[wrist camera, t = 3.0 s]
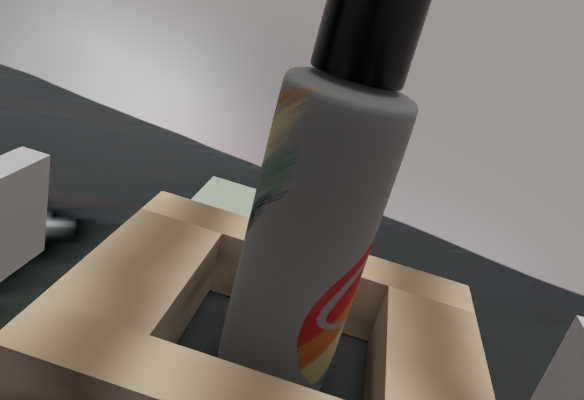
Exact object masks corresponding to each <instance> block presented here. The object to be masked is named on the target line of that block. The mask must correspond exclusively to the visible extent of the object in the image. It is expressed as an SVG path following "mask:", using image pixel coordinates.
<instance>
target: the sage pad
mask: <svg viewBox="0 0 584 400" xmlns="http://www.w3.org/2000/svg"><path fill="white" fill-rule="evenodd" d="M255 193H256V189H254V188H251V187H247V186H244V185H241V184H237V183H234V182H231V181H228V180H224V179H221V178H218V177H215V176H213V177H212V178H211V179H210V180H209V181H208V183H207V184H206V185H205V186H204V187H203V188H202V189H201V190H200V191H199V192H198V193H197V194H196V195H195V196H194V197H193V198H192V199H191V200H193V201H197V202H200V203H203V204H206V205H210V206H213V207H216V208H219V209H222V210H226V211H229V212H232V213H235V214H239V215H242V216H245V217H248V218H250V214H251V209H252V205H253V201H254V197H255Z"/></svg>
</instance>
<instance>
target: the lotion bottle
mask: <svg viewBox="0 0 584 400" xmlns="http://www.w3.org/2000/svg"><path fill="white" fill-rule="evenodd" d="M430 3H431V0H327V1H326V5H325V9H324V12H323V16H322V20H321V24H320V27H319V31H318V35H317V39H316V43H315V47H314V50H313V54H312V58H311V64H312V66H314V67H295V68H291V69H289V70H288V71H287V72H286V74H285V76H284V79H283V83H282V86H281V90H280V94H279V98H278V102H277V106H276V110H275V114H274V118H273V122H272V126H271V130H270V135H269V139H268V143H267V147H266V151H265V155H264V160H263V164H262V168H261V172H260V176H259V180H258V184H257V189H256V193H255V197H254V201H253V205H252V209H251V214H250V218H249V222H248V226H247V230H246V234H245V239H244V243H243V247H242V251H241V255H240V259H239V264H238V268H237V272H236V276H235V280H234V284H233V289H232V293H231V297H230V301H229V305H228V309H227V314H226V318H225V322H224V326H223V331H222V335H221V340H220V345H219V350H218V358H220V359H223V360H226V361H229V362H232V363H235V364H238V365H241V366H244V367H247V368H250V369H253V370H256V371H259V372H262V373H265V374H268V375H271V376H274V377H277V378H280V379H283V380H286V381H289V382H292V383H295V384H298V385H301V386H304V387H307V388H310V389H313V390H316V391H319V390H320V388H321V386H322V384H323V382H324V379H325V377H326V374H327V372H328V369H329V366H330V364H331V361H332V358H333V355H334V353H335V350H336V347H337V344H338V341H339V338H340V336H341V333H342V330H343V327H344V324H345V321H346V318H347V316H348V313H349V310H350V307H351V304H352V301H353V299H354V296H355V293H356V290H357V287H358V284H359V281H360V279H361V276H362V273H363V270H364V267H365V264H366V262H367V259H368V256H369V253H370V250H371V247H372V244H373V242H374V239H375V236H376V233H377V230H378V227H379V225H380V222H381V219H382V216H383V213H384V210H385V207H386V205H387V201H388V199H389V196H390V193H391V190H392V188H393V185H394V182H395V179H396V176H397V173H398V170H399V168H400V165H401V162H402V159H403V156H404V153H405V150H406V147H407V144H408V142H409V139H410V136H411V133H412V130H413V127H414V124H415V120H416V117H417V113H418V107H417V104H416V103H415V102H414V101H413V100H412V99H410V98H409V97H407V96H406V95H404V94H402V93H401V92H399V91H400V90H402V88H403V87H404V84H405V81H406V78H407V75H408V72H409V68H410V65H411V62H412V59H413V56H414V53H415V50H416V47H417V43H418V40H419V37H420V34H421V31H422V28H423V25H424V22H425V19H426V15H427V12H428V9H429V6H430Z"/></svg>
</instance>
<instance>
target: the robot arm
mask: <svg viewBox="0 0 584 400" xmlns="http://www.w3.org/2000/svg"><path fill="white" fill-rule="evenodd" d="M49 170H50V155H49V154H45V153H42V152H39V151H35V150H32V149H29V148H26V147H20V148H17V149H15V150H12V151H10V152H8V153H5V154H3V155H0V282H1V281H2V280H4V279H5V278H7V277H8V276H9V275H11V274H12V273H13V272H15V271H16V270H17V269H19V268H20V267H22V266H23V265H24V264H26V263H27V262H28V261H30V260H31V259H32V258H34V257H35V256H37V255H38V254H39V253H41V252H42V251H43V250H44V244H45V229H46V214H47V200H48V185H49ZM530 400H584V317H581V316H578V315H576V317H575V319H574V321H573V323H572V325H571V326H570V328H569V330H568V332H567V334H566V335H565V337H564V339H563V341H562V343H561V345H560V346H559V348H558V350H557V352H556V354H555V356H554V357H553V359H552V361H551V363H550V365H549V367H548V368H547V370H546V372H545V374H544V376H543V378H542V379H541V381H540V383H539V385H538V387H537V389H536V390H535V392H534V394H533V396H532V398H531V399H530Z"/></svg>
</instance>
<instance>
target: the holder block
mask: <svg viewBox="0 0 584 400" xmlns="http://www.w3.org/2000/svg"><path fill="white" fill-rule="evenodd" d="M248 222H249V218H248V217H245V216H242V215H239V214H235V213H232V212H229V211H226V210H222V209H219V208H216V207H213V206H210V205H206V204H203V203H200V202H197V201H193V200H190V199H187V198H184V197H181V196H177V195H174V194H171V193H168V192H164V191H161V192H160V193H159V194H158V195H157V196H155V197H154V198H153V199H152V200H151V201H150V202H148V203H147V204H146V205H145V206H144V207H143V208H142V209H140V210H139V211H138V212H137V213H136V214H135V215H133V216H132V217H131V218H130V219H129V220H128V221H126V222H125V223H124V224H123V225H122V226H121V227H119V228H118V229H117V230H116V231H115V232H114V233H113V234H111V235H110V236H109V237H108V238H107V239H106V240H104V241H103V242H102V243H101V244H100V245H99V246H97V247H96V248H95V249H94V250H93V251H92V252H90V253H89V254H88V255H87V256H86V257H85V258H83V259H82V260H81V261H80V262H79V263H78V264H77V265H75V266H74V267H73V268H72V269H71V270H70V271H68V272H67V273H66V274H65V275H64V276H63V277H61V278H60V279H59V280H58V281H57V282H56V283H54V284H53V285H52V286H51V287H50V288H49V289H47V290H46V291H45V292H44V293H43V294H42V295H41V296H39V297H38V298H37V299H36V300H35V301H34V302H32V303H31V304H30V305H29V306H28V307H27V308H25V309H24V310H23V311H22V312H21V313H20V314H18V315H17V316H16V317H15V318H14V319H13V320H11V321H10V322H9V323H8V324H7V325H6V326H5V327H3V328H2V329H1V330H0V400H343V399H340V398H337V397H334V396H331V395H328V394H325V393H322V392H319V391H316V390H313V389H310V388H307V387H304V386H301V385H298V384H295V383H292V382H289V381H286V380H283V379H280V378H277V377H274V376H271V375H268V374H265V373H262V372H259V371H256V370H253V369H250V368H247V367H244V366H241V365H238V364H235V363H232V362H229V361H226V360H223V359H220V358H217V357H214V356H211V355H208V354H205V353H202V352H199V351H196V350H193V349H190V348H187V347H184V346H181V345H178V344H176V343H177V342H178V340H179V339H180V337H181V335H182V334H183V332H184V331H185V329H186V327H187V326H188V324H189V322H190V321H191V319H192V318H193V316H194V314H195V313H196V311H197V310H198V308H199V306H200V305H201V303H202V302H203V300H204V298H205V297H206V295H207V294H208V292H209V290H211V291H214V292H217V293H220V294H223V295H226V296H229V297H231V293H232V289H233V284H234V280H235V276H236V272H237V268H238V264H239V259H240V255H241V251H242V247H243V243H244V239H245V234H246V230H247V226H248ZM342 333H344V334H347V335H350V336H353V337H356V338H360V339H363V340H366V341H368V344H367V356H366V367H365V379H364V390H363V400H495V396H494V392H493V387H492V383H491V379H490V375H489V370H488V366H487V362H486V358H485V353H484V349H483V345H482V341H481V336H480V332H479V328H478V324H477V319H476V315H475V311H474V307H473V302H472V298H471V294H470V290H469V286H467V285H464V284H461V283H458V282H454V281H451V280H448V279H445V278H442V277H438V276H435V275H432V274H429V273H425V272H422V271H419V270H416V269H413V268H409V267H406V266H403V265H400V264H396V263H393V262H390V261H387V260H384V259H380V258H377V257H374V256H371V255H369V256H368V259H367V262H366V264H365V267H364V270H363V273H362V276H361V279H360V281H359V284H358V287H357V290H356V293H355V296H354V299H353V301H352V304H351V307H350V310H349V313H348V316H347V318H346V321H345V324H344V327H343V330H342Z"/></svg>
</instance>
